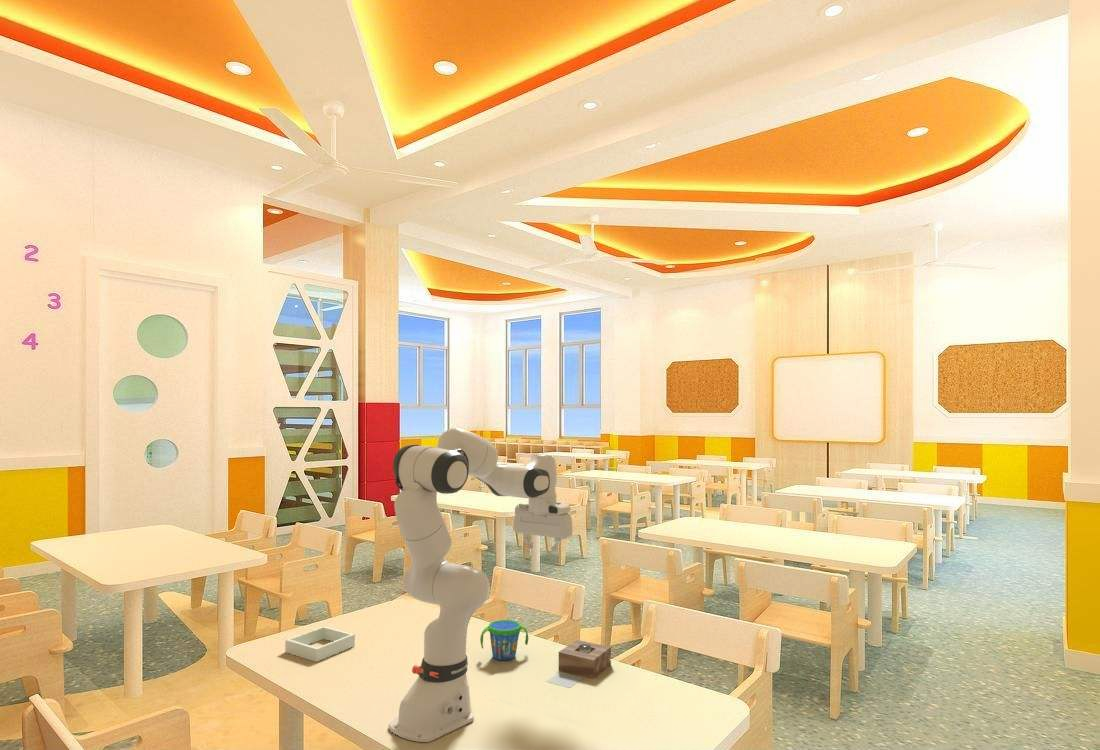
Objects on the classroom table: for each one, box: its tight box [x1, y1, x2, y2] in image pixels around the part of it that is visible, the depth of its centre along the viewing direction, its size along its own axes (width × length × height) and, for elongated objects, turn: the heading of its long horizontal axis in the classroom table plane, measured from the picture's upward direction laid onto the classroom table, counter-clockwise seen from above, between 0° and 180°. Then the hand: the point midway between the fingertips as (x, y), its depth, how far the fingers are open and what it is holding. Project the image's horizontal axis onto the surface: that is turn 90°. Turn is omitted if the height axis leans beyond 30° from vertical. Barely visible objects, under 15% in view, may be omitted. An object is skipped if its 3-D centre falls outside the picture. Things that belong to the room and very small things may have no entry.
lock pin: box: [579, 644, 591, 654], centre depth 194 cm, size 4×4×7 cm
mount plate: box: [545, 671, 583, 689], centre depth 185 cm, size 8×8×1 cm
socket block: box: [558, 639, 612, 680], centre depth 194 cm, size 12×12×6 cm
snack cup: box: [479, 619, 529, 661], centre depth 203 cm, size 16×10×10 cm
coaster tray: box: [284, 625, 356, 663], centre depth 209 cm, size 16×16×4 cm
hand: (541, 550), depth 197 cm, fingers open, 8 cm apart
